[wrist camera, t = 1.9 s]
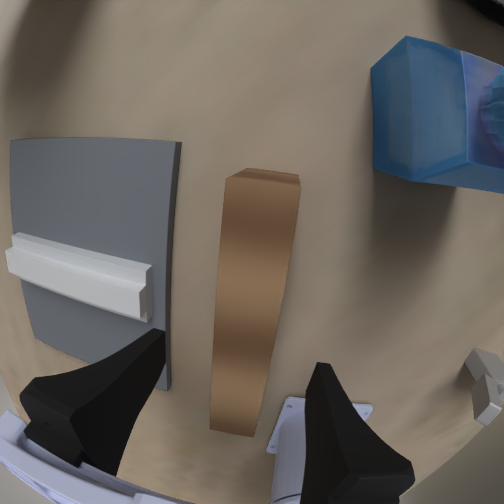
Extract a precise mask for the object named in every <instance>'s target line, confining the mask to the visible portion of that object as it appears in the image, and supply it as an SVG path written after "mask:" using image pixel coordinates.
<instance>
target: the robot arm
mask: <svg viewBox="0 0 504 504" xmlns="http://www.w3.org/2000/svg"><path fill="white" fill-rule="evenodd" d="M165 363H166V343H165V331H163V330H160V329H156V328H153V329H151V330H150V331H148V332H147V333H145V334H144V335H142V336H141V337H139V338H138V339H136V340H135V341H133V342H132V343H130V344H129V345H127V346H125V347H124V348H122V349H121V350H119V351H117V352H116V353H114V354H112V355H110V356H108V357H107V358H105V359H102V360H100V361H98V362H96V363H94V364H91V365H89V366H86V367H83V368H80V369H77V370H74V371H70V372H66V373H62V374H57V375H52V376H44V377H35V378H34V379H33V380H32V381H31V382H30V383H29V384H28V385H27V386H26V388H25V389H24V390H23V391H22V392H21V393H20V395H19V396H20V401H21V404H22V406H23V407H24V409H25V411H26V413H27V414H28V416H29V418H30V420H31V422H30V423H29V424H27V423H26V422H25V421H24V420H22V419H21V418H20V417H18V416H17V415H15V414H14V413H13V412H11V411H10V410H6V412H5V413H4V414H3V415H2V416H1V418H0V462H1V463H2V465H3V466H4V467H5V468H7V469H8V470H9V471H10V472H11V473H13V474H14V475H15V476H17V477H18V478H19V479H21V480H22V481H23V482H24V483H26V484H27V485H29V486H30V487H31V488H33V489H34V490H35V491H37V492H38V493H40V494H41V495H43V496H44V497H45V498H47V499H49V500H50V501H51V502H53V503H55V504H194V503H190V502H187V501H183V500H179V499H176V498H173V497H169V496H166V495H163V494H160V493H157V492H154V491H151V490H148V489H145V488H142V487H140V486H137V485H134V484H132V483H129V482H127V481H124V480H122V479H119V478H117V477H116V475H117V471H118V468H119V465H120V461H121V458H122V455H123V452H124V450H125V447H126V444H127V441H128V439H129V436H130V434H131V431H132V429H133V426H134V424H135V421H136V419H137V417H138V415H139V413H140V411H141V409H142V408H143V406H144V404H145V402H146V401H147V399H148V397H149V396H150V394H151V392H152V391H153V389H154V387H155V385H156V384H157V382H158V380H159V378H160V376H161V373H162V371H163V368H164V366H165ZM372 411H373V407H372V405H370V404H355V403H351V401H350V400H349V398H348V396H347V395H346V393H345V391H344V390H343V388H342V386H341V384H340V382H339V380H338V378H337V376H336V375H335V373H334V370H333V368H332V366H331V365H330V364H328V363H320V362H317V364H316V367H315V369H314V372H313V374H312V377H311V380H310V382H309V385H308V387H307V390H306V395H305V398H298V397H287V398H286V399H285V401H284V404H283V407H282V409H281V412H280V415H279V417H278V420H277V423H276V425H275V428H274V431H273V433H272V436H271V438H270V441H269V443H268V446H267V449H266V451H267V452H268V453H272V454H275V463H274V472H273V480H272V489H271V503H270V504H399V496H400V495H401V494H403V493H404V492H405V491H406V490H408V489H409V488H410V487H411V486H412V485H413V484H414V482H415V476H414V470H413V467H412V464H411V461H409V460H408V459H406V458H405V457H403V456H402V455H400V454H399V453H397V452H396V451H395V450H393V449H392V448H391V447H390V446H389V445H387V444H386V443H385V442H384V441H383V440H382V439H381V438H380V437H379V436H378V435H377V434H376V433H375V432H374V431H373V430H372V429H371V428H370V427H369V426H368V425H367V424H366V422H365V421H366V420H367V418H368V417H369V415H370V414H371V412H372Z"/></svg>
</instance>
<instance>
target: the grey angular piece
mask: <svg viewBox="0 0 504 504" xmlns="http://www.w3.org/2000/svg"><path fill="white" fill-rule="evenodd" d="M465 365H466V366H467V368H468V370H469V371H470V373H471V375H472V377H473V378H474V380H475V382H476V384H475V385H474V386H473V387H472V389H471V392H472V400H473V411H474V420H476V421H478V422H480V423H482V424H484V425H488V424H489V423H490V422H491V421H492V420H493V419H494V418H495V417H496V416H497V415H498V414H499V413H500V412H501V409H502V407H501V402H500V401H503V402H504V364H503V363H502V361H501V360H500V358H499V357H498V355H496V354H493V353H490V352H487V351H483V350H480V349H477V348H475V349H473V351H472V352H471V353H470V355H469V356H468V357H467V359H466V360H465Z"/></svg>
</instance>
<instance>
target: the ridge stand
mask: <svg viewBox="0 0 504 504" xmlns="http://www.w3.org/2000/svg"><path fill="white" fill-rule="evenodd" d="M181 144H182V142H175V141H162V140H147V139H129V138H94V137H69V138H36V139H19V140H11V147H10V195H11V212H12V224H13V234H14V235H12V243H13V247H11V248H9V249H7V250H5V252H6V258H7V264H8V269H9V272H10V273H13V274H15V275H17V276H18V278H20V279H21V284H22V289H23V294H24V298H25V302H26V307H27V311H28V314H29V318H30V322H31V326H32V329H33V332H34V336H35V338H36V339H38V340H40V341H42V342H44V343H46V344H48V345H50V346H52V347H54V348H56V349H58V350H61V351H63V352H65V353H67V354H69V355H71V356H74V357H76V358H78V359H80V360H83V361H85V362H87V363H90V364H94V363H96V362H98V361H100V360H102V359H105V358H107V357H108V356H110V355H112V354H114V353H116V352H117V351H119V350H121V349H122V348H124V347H125V346H127V345H129V344H130V343H132V342H133V341H135V340H136V339H138V338H139V337H141V336H142V335H144V334H145V333H147V332H148V331H150V330H151V329H153V328H156V329H160V330H163V331H165V343H166V363H165V366H164V368H163V371H162V373H161V376H160V378H159V380H158V382H157V384H156V385H155V387H156V388H159V389H162V390H165V391H168V389H169V387H170V385H171V368H170V291H171V263H172V243H173V227H174V213H175V201H176V190H177V179H178V170H179V161H180V152H181Z"/></svg>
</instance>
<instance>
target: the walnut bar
mask: <svg viewBox="0 0 504 504" xmlns="http://www.w3.org/2000/svg"><path fill="white" fill-rule="evenodd" d="M300 194H301V186H300V181H299V176H298V175H296V174H289V173H282V172H275V171H268V170H260V169H252V168H246V169H244V170H242V171H240V172H238V173H236V174H234V175H232V176H231V177H229V178H227V179H226V182H225V192H224V203H223V214H222V226H221V237H220V250H219V263H218V276H217V290H216V306H215V322H214V339H213V358H212V380H211V406H210V429H212V430H217V431H222V432H227V433H232V434H237V435H243V436H249V437H254V434H255V429H256V425H257V421H258V417H259V412H260V408H261V403H262V399H263V394H264V390H265V385H266V380H267V376H268V371H269V366H270V361H271V357H272V352H273V347H274V342H275V337H276V332H277V327H278V322H279V316H280V311H281V306H282V301H283V295H284V290H285V284H286V279H287V273H288V267H289V262H290V256H291V250H292V244H293V238H294V232H295V226H296V220H297V213H298V207H299V200H300Z"/></svg>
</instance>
